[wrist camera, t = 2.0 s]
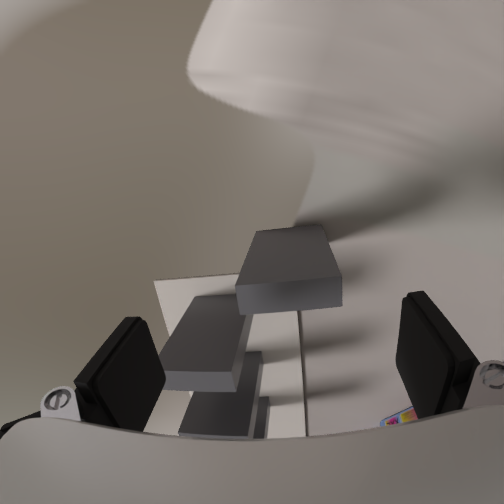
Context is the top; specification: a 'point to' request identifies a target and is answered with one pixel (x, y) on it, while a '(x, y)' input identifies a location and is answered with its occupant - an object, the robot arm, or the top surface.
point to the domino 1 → (207, 346)
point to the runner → (252, 347)
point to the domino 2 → (227, 406)
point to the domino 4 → (289, 272)
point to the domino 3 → (262, 418)
